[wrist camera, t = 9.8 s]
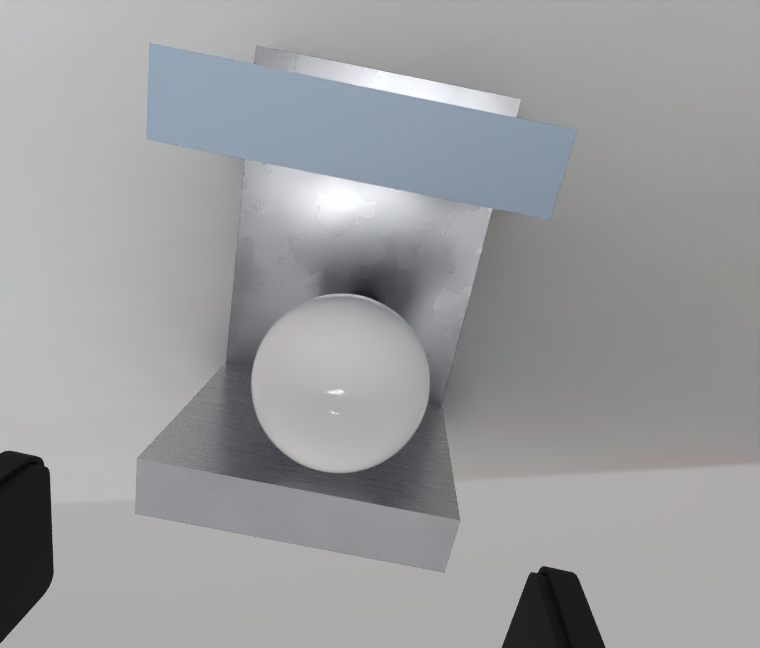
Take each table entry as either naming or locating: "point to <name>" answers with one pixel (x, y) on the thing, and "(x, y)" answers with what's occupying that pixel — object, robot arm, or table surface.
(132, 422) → the table surface
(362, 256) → the vise base
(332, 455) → the lightbulb
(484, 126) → the vise jaw
